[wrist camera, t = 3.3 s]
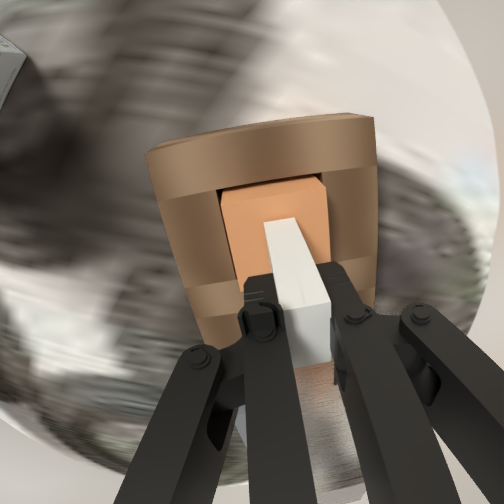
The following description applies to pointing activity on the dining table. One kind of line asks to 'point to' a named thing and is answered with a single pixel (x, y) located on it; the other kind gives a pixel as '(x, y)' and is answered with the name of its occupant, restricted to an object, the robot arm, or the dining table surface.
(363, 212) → the socket block
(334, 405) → the steel peg
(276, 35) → the dining table surface
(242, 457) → the dining table surface
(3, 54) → the tea box
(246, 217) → the plunger
